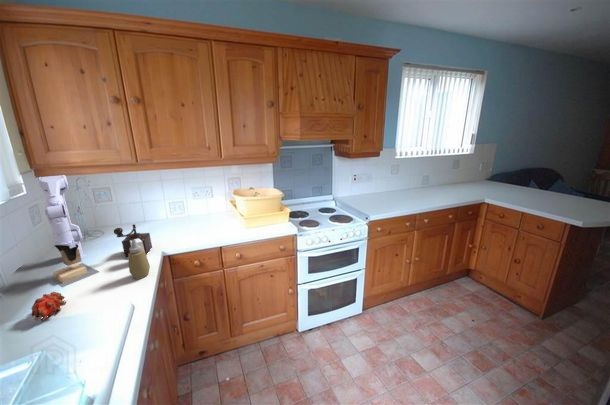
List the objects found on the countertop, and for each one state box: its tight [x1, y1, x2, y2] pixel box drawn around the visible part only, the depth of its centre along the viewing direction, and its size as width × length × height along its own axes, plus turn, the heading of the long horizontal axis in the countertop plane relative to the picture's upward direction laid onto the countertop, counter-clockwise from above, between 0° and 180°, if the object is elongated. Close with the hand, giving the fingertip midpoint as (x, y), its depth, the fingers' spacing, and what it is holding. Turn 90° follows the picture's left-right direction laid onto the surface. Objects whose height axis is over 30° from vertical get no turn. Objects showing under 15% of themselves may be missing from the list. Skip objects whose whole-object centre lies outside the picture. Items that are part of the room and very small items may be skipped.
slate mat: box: [46, 262, 100, 288], centre depth 121 cm, size 18×14×1 cm
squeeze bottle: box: [127, 240, 151, 280], centre depth 118 cm, size 8×8×18 cm
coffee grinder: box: [113, 224, 153, 258], centre depth 138 cm, size 16×11×18 cm
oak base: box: [52, 262, 88, 283], centre depth 120 cm, size 9×9×3 cm
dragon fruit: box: [31, 291, 67, 321], centre depth 95 cm, size 8×8×12 cm
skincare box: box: [130, 238, 144, 250], centre depth 131 cm, size 6×4×12 cm
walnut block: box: [59, 249, 82, 267], centre depth 119 cm, size 5×5×6 cm
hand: (70, 258), depth 119 cm, fingers closed on walnut block, 5 cm apart
